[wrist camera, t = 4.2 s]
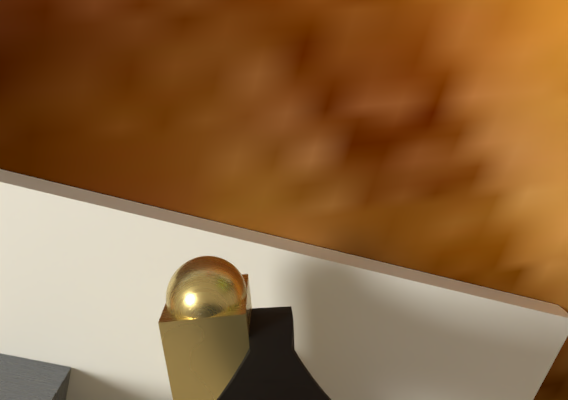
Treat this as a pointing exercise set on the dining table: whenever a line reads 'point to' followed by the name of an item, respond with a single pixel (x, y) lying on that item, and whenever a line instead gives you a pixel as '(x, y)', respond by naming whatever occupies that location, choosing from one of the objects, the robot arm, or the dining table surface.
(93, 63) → the dining table surface
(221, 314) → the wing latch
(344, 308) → the board
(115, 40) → the dining table surface
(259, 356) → the robot arm
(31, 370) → the eye block
